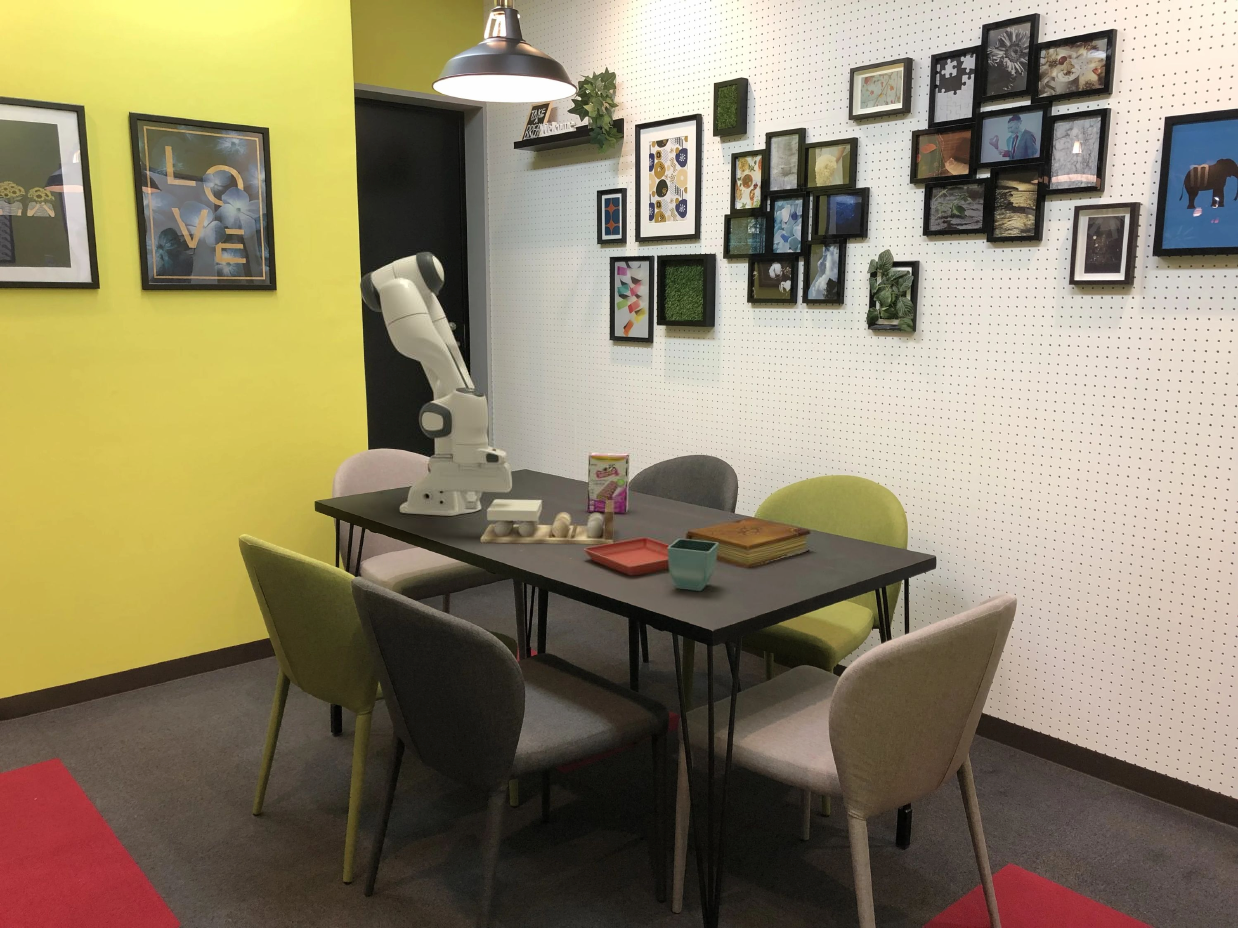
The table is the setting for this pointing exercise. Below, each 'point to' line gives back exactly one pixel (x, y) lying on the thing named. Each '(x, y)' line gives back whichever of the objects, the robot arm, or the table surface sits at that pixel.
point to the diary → (752, 540)
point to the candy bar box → (608, 481)
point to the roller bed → (543, 533)
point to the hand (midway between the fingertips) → (471, 508)
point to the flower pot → (692, 563)
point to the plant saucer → (632, 555)
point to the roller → (561, 524)
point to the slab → (514, 510)
